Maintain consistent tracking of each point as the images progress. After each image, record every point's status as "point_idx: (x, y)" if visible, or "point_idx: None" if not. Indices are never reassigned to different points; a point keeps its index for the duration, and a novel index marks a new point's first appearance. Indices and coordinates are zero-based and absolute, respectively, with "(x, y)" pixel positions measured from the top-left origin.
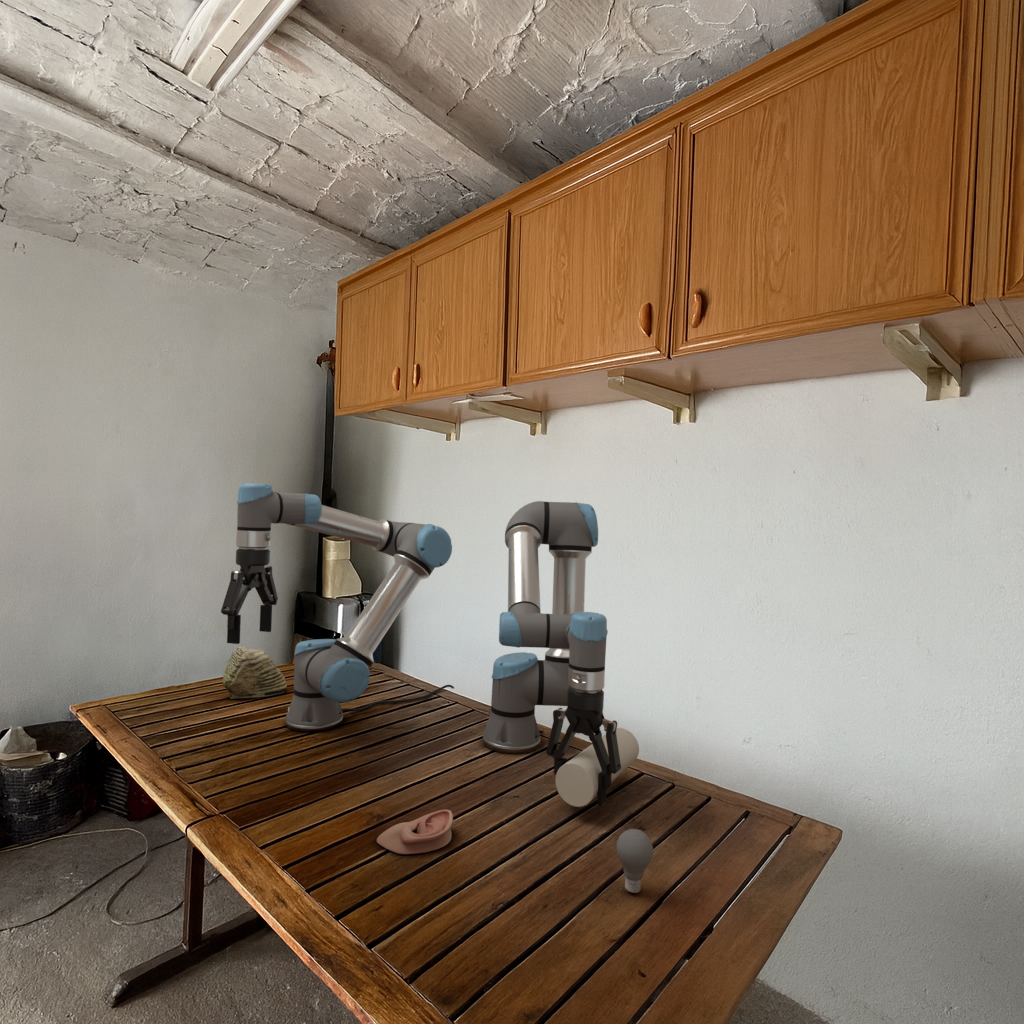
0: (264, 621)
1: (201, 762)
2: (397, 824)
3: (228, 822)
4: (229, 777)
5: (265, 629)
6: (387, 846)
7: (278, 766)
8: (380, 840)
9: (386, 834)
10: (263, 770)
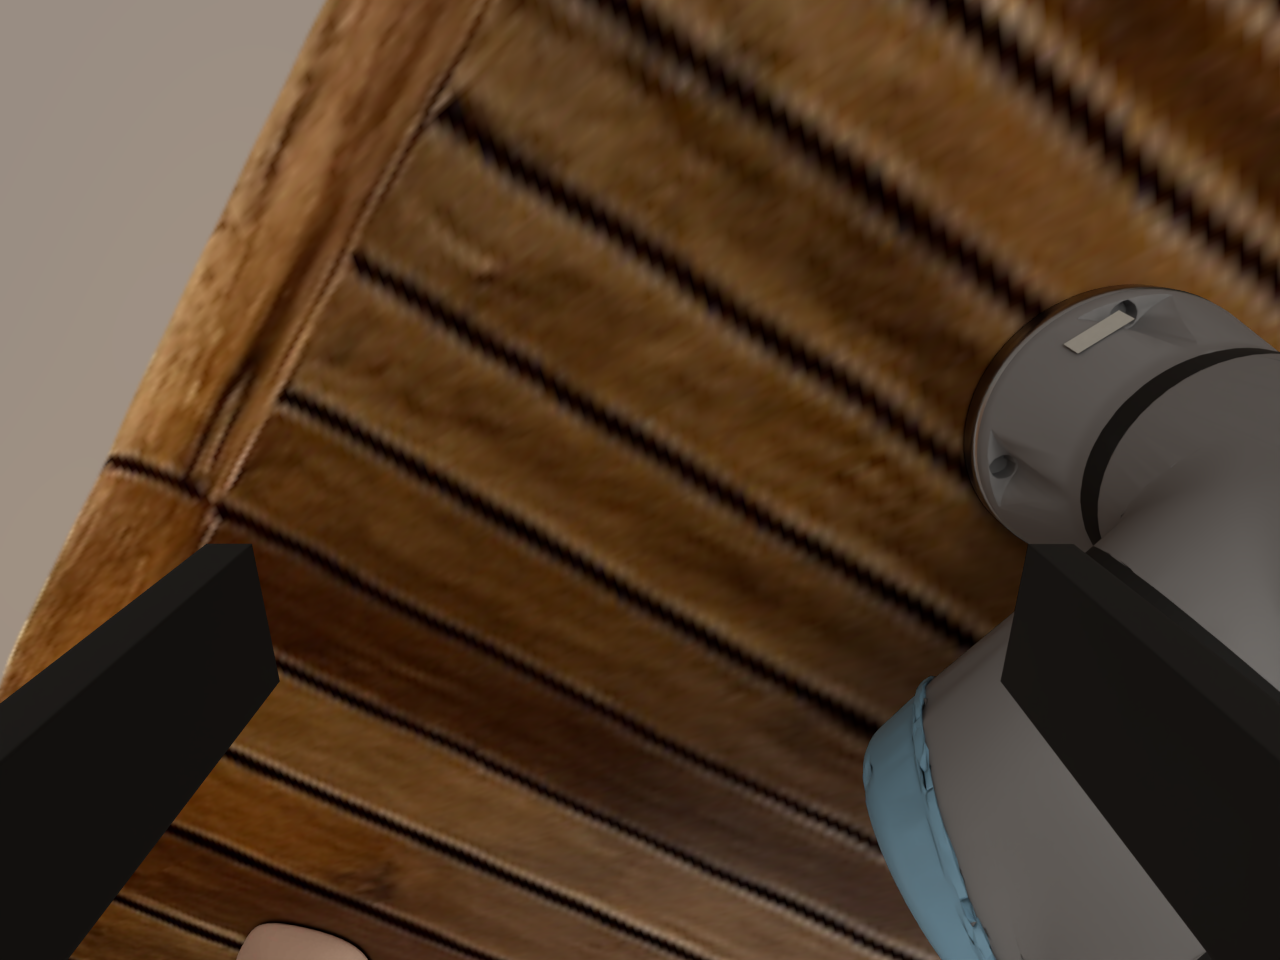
0: (1099, 704)
1: (543, 173)
2: (330, 955)
3: (181, 559)
4: (453, 381)
5: (1025, 645)
6: (240, 955)
7: (598, 503)
8: (252, 939)
9: (265, 954)
10: (549, 469)
